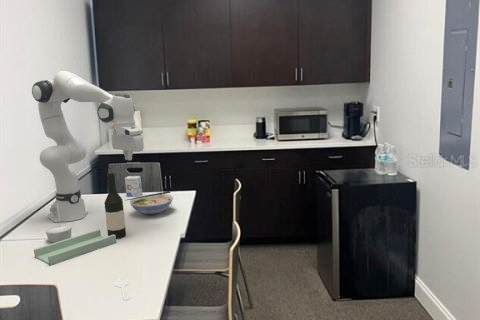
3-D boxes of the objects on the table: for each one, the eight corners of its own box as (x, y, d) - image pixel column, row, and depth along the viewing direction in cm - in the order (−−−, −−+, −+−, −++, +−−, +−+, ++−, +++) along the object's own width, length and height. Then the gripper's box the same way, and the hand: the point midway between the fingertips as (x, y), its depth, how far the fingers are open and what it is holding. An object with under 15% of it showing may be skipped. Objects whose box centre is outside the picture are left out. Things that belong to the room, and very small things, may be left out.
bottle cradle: (34, 257, 196) (33, 249, 195) (99, 236, 218) (98, 229, 217) (50, 265, 187) (49, 257, 186) (116, 242, 208) (115, 235, 208)
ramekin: (66, 233, 224) (65, 223, 223) (77, 238, 216) (75, 227, 215) (42, 240, 217) (41, 229, 216) (53, 246, 209) (51, 234, 208)
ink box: (126, 197, 285) (124, 177, 283) (129, 194, 290) (127, 175, 288) (139, 196, 284) (137, 177, 281) (142, 194, 289) (140, 175, 286)
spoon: (119, 302, 154) (119, 301, 154) (112, 281, 170) (112, 279, 170) (135, 299, 156) (135, 297, 156) (127, 277, 172) (127, 276, 172)
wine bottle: (121, 239, 212) (114, 174, 206) (104, 239, 213) (97, 174, 208) (129, 233, 220) (123, 170, 214) (113, 232, 221) (106, 170, 216)
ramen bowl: (135, 222, 235) (133, 207, 233) (123, 211, 255) (122, 197, 253) (182, 213, 246) (181, 198, 244) (168, 203, 266) (166, 189, 264)
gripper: (107, 129, 219) (110, 159, 222) (132, 131, 206) (135, 163, 208) (118, 128, 224) (121, 156, 227) (144, 130, 210) (147, 160, 213)
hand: (128, 159), depth 217 cm, fingers closed
